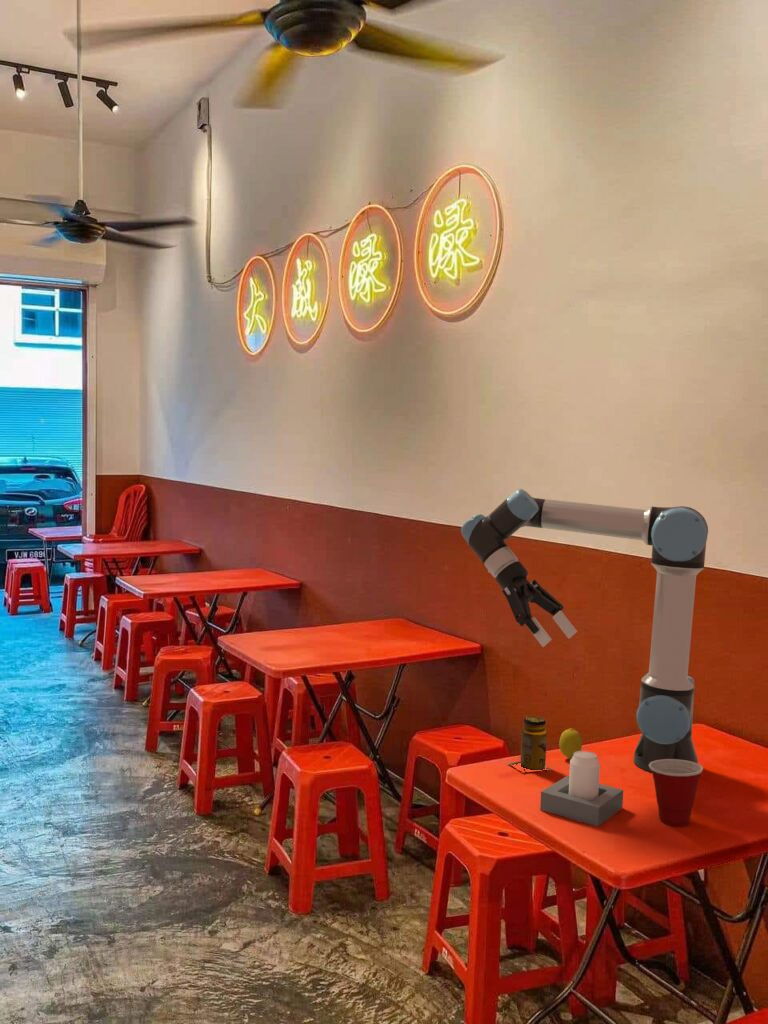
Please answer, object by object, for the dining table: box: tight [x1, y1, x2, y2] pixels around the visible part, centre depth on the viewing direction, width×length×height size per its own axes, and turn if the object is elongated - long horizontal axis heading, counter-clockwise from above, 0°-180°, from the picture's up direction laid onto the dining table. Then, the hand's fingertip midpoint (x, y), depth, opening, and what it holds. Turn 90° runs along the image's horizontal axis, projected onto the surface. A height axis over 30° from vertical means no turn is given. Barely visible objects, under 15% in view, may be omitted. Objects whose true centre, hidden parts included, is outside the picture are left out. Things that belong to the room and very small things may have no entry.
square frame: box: [539, 775, 624, 828], centre depth 187 cm, size 13×13×4 cm
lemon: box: [558, 727, 583, 760], centre depth 219 cm, size 6×6×8 cm
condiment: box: [506, 715, 553, 771], centre depth 213 cm, size 7×8×12 cm
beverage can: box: [568, 750, 601, 801], centre depth 187 cm, size 6×6×12 cm
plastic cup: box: [649, 759, 704, 827], centre depth 182 cm, size 11×11×12 cm
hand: (560, 639), depth 206 cm, fingers open, 13 cm apart
